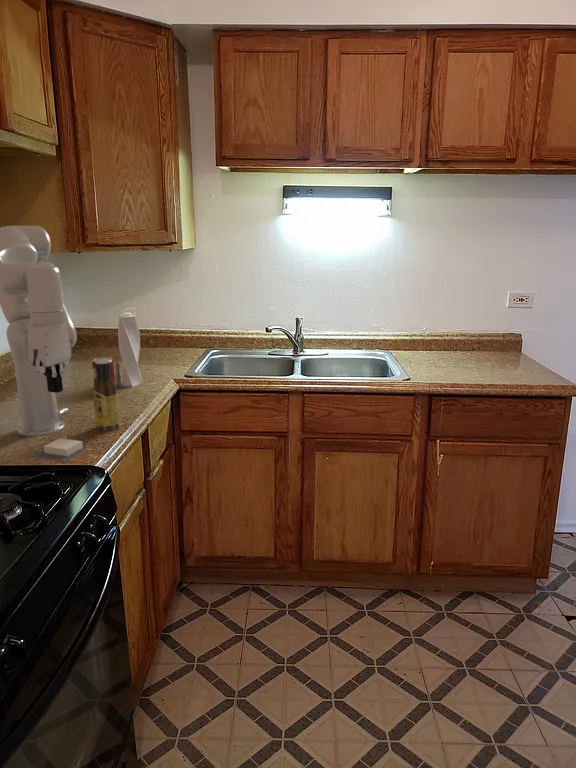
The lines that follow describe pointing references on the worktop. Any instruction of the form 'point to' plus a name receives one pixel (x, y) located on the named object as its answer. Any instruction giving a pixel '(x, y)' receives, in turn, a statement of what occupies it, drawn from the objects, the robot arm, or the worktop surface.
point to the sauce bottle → (105, 398)
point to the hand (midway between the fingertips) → (55, 391)
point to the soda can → (112, 370)
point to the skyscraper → (128, 350)
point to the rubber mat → (56, 457)
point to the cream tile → (63, 447)
